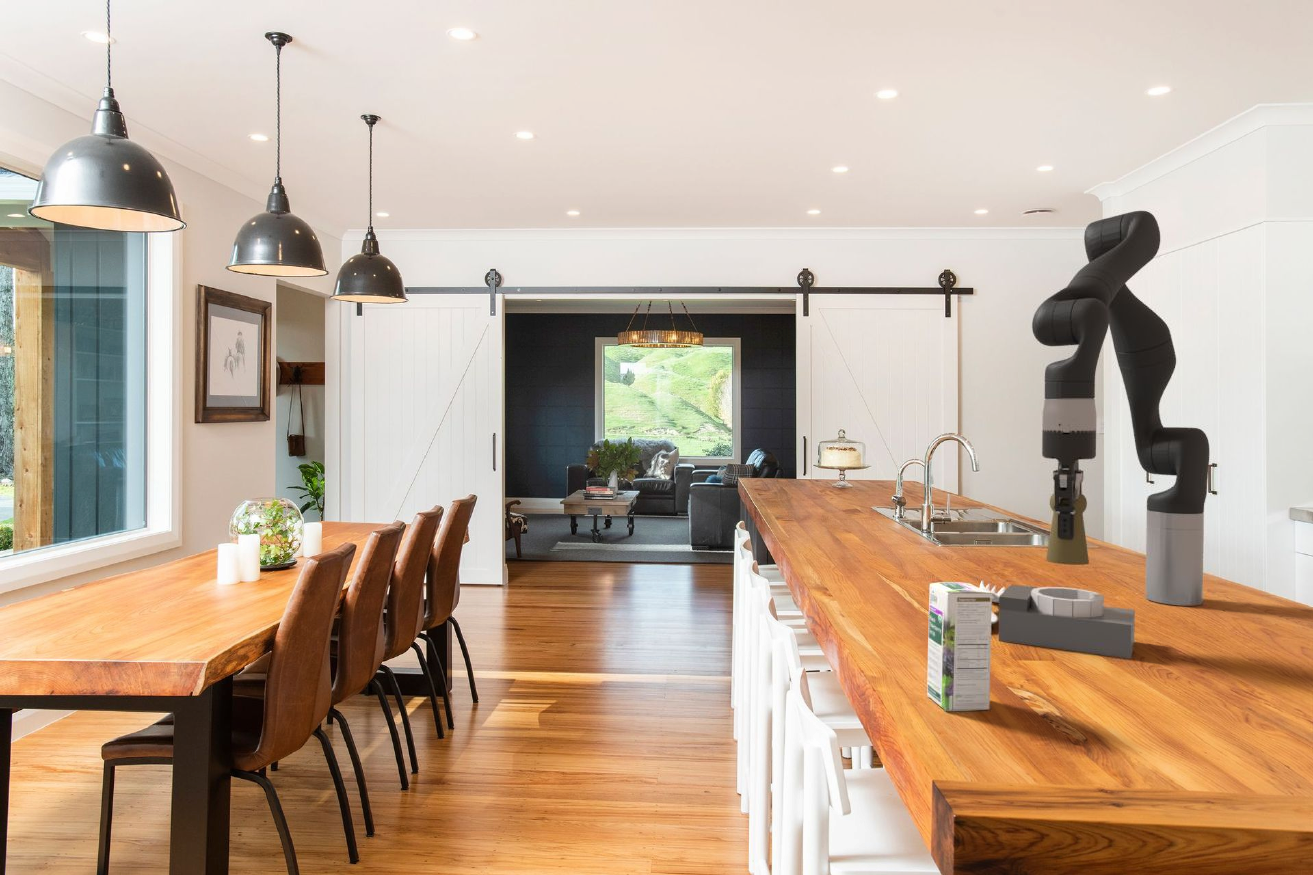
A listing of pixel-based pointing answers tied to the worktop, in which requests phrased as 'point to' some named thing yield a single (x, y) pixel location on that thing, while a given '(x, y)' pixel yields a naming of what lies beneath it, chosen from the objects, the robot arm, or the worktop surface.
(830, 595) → the worktop surface
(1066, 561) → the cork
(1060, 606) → the camera body
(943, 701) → the syrup box
